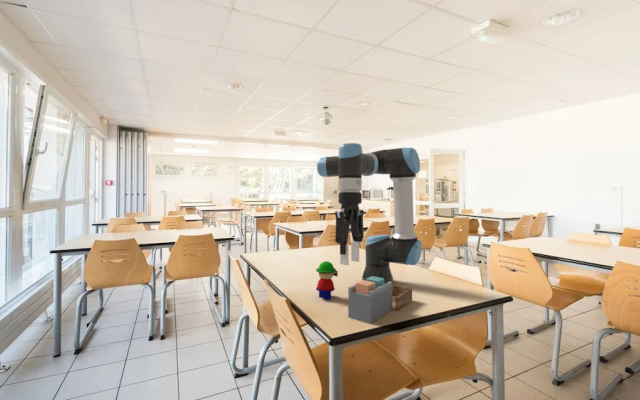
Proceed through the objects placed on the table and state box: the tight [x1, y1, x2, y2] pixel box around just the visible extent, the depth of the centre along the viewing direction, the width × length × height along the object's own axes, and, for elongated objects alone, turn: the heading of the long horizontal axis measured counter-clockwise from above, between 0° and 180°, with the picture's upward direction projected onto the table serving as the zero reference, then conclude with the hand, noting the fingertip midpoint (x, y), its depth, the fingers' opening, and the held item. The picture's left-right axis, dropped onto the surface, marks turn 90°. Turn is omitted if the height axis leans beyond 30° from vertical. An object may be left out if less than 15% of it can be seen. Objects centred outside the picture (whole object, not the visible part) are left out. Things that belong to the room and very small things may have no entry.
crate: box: [384, 283, 413, 312], centre depth 121 cm, size 13×14×5 cm
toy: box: [315, 260, 338, 301], centre depth 128 cm, size 9×9×15 cm
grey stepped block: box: [347, 280, 393, 324], centre depth 110 cm, size 9×16×10 cm, turn 141°
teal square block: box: [366, 276, 384, 288], centre depth 112 cm, size 5×5×3 cm
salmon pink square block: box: [355, 279, 375, 294], centre depth 106 cm, size 5×5×3 cm
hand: (349, 262), depth 99 cm, fingers open, 6 cm apart
